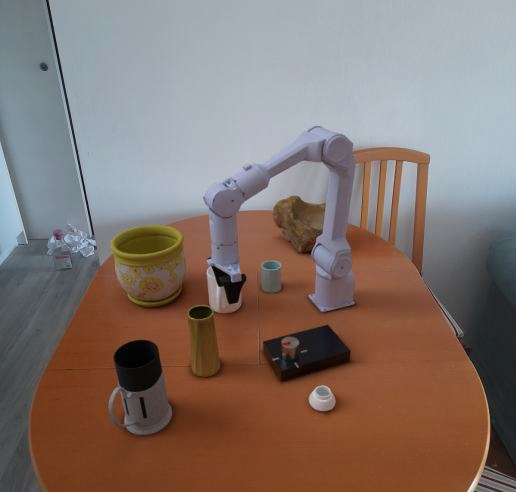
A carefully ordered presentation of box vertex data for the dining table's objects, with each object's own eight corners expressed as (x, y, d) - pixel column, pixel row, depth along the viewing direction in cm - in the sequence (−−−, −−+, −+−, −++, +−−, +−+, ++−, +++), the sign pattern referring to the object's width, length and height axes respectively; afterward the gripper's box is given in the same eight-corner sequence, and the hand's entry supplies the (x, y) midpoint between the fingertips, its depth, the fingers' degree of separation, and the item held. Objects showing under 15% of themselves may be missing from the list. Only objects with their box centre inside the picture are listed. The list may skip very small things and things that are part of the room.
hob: (327, 334, 103) (327, 323, 102) (350, 362, 95) (352, 351, 93) (261, 352, 98) (261, 341, 97) (280, 383, 90) (280, 372, 88)
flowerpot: (127, 320, 109) (115, 262, 101) (116, 285, 124) (105, 232, 116) (197, 302, 116) (192, 246, 108) (179, 271, 130) (173, 219, 122)
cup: (276, 280, 125) (276, 258, 121) (284, 290, 120) (284, 267, 117) (258, 284, 123) (258, 262, 120) (265, 294, 119) (265, 271, 115)
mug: (236, 324, 107) (234, 288, 102) (202, 322, 108) (199, 286, 103) (244, 297, 118) (242, 263, 113) (213, 295, 119) (210, 261, 114)
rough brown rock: (273, 259, 137) (274, 216, 129) (271, 232, 151) (272, 192, 142) (348, 260, 137) (355, 217, 129) (339, 233, 151) (345, 193, 143)
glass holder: (179, 402, 86) (170, 340, 79) (147, 465, 74) (132, 400, 66) (137, 395, 88) (125, 334, 80) (99, 456, 76) (80, 391, 68)
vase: (197, 381, 91) (191, 324, 84) (187, 363, 96) (180, 308, 89) (225, 371, 93) (221, 315, 86) (213, 354, 98) (209, 300, 91)
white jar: (327, 390, 88) (304, 397, 86) (327, 378, 87) (304, 386, 85) (340, 408, 84) (316, 416, 82) (341, 396, 82) (317, 404, 81)
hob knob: (294, 348, 95) (294, 333, 93) (301, 358, 92) (302, 344, 90) (278, 352, 94) (278, 337, 92) (285, 363, 91) (285, 348, 89)
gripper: (197, 230, 99) (202, 282, 105) (216, 258, 87) (220, 315, 94) (227, 224, 101) (230, 276, 108) (250, 251, 89) (251, 307, 96)
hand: (227, 294), depth 101 cm, fingers open, 7 cm apart
